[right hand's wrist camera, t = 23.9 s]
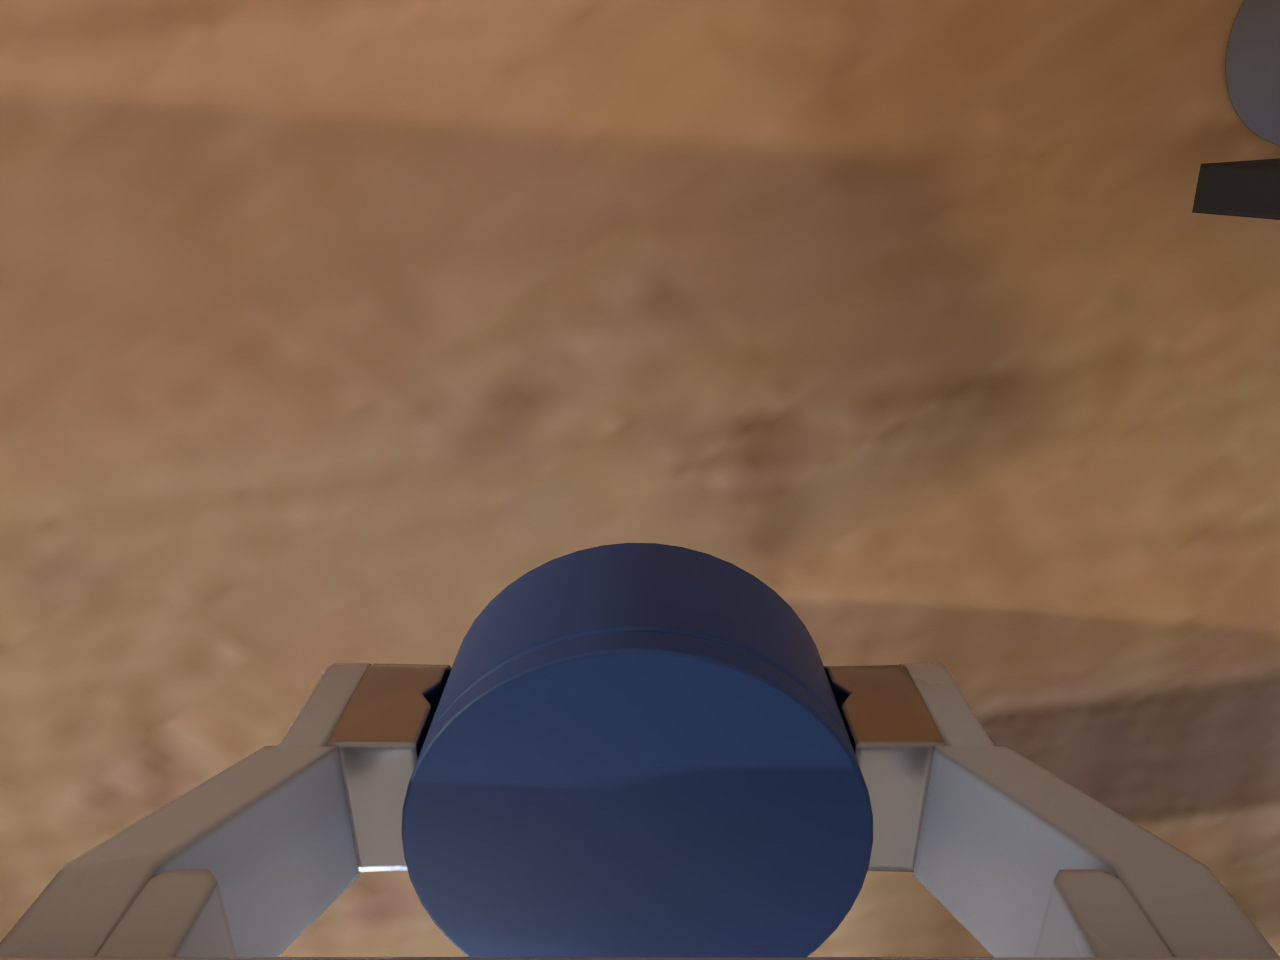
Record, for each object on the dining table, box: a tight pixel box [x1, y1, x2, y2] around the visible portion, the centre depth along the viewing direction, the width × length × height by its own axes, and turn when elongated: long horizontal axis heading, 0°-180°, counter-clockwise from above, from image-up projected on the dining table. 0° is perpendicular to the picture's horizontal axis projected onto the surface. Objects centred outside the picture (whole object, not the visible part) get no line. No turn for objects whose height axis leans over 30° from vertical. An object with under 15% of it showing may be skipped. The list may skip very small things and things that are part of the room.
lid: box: [401, 543, 873, 957], centre depth 9 cm, size 5×5×2 cm
